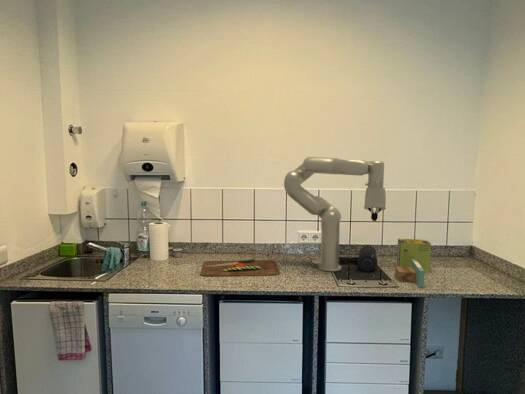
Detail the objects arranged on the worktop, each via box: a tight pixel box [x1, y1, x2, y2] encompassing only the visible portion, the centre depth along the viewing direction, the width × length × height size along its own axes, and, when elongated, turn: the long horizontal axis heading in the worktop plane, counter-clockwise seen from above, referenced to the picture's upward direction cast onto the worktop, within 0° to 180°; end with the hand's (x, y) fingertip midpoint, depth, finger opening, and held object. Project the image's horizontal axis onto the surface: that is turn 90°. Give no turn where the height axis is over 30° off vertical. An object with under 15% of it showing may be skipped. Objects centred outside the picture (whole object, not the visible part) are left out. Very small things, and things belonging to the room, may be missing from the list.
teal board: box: [411, 259, 425, 289], centre depth 193 cm, size 2×20×8 cm, turn 170°
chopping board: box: [195, 258, 285, 278], centre depth 211 cm, size 45×27×3 cm, turn 94°
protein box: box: [396, 238, 432, 274], centre depth 212 cm, size 10×15×16 cm
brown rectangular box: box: [394, 265, 416, 284], centre depth 196 cm, size 8×10×5 cm
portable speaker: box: [357, 245, 378, 272], centre depth 217 cm, size 25×10×10 cm, turn 164°
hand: (374, 220), depth 204 cm, fingers closed
